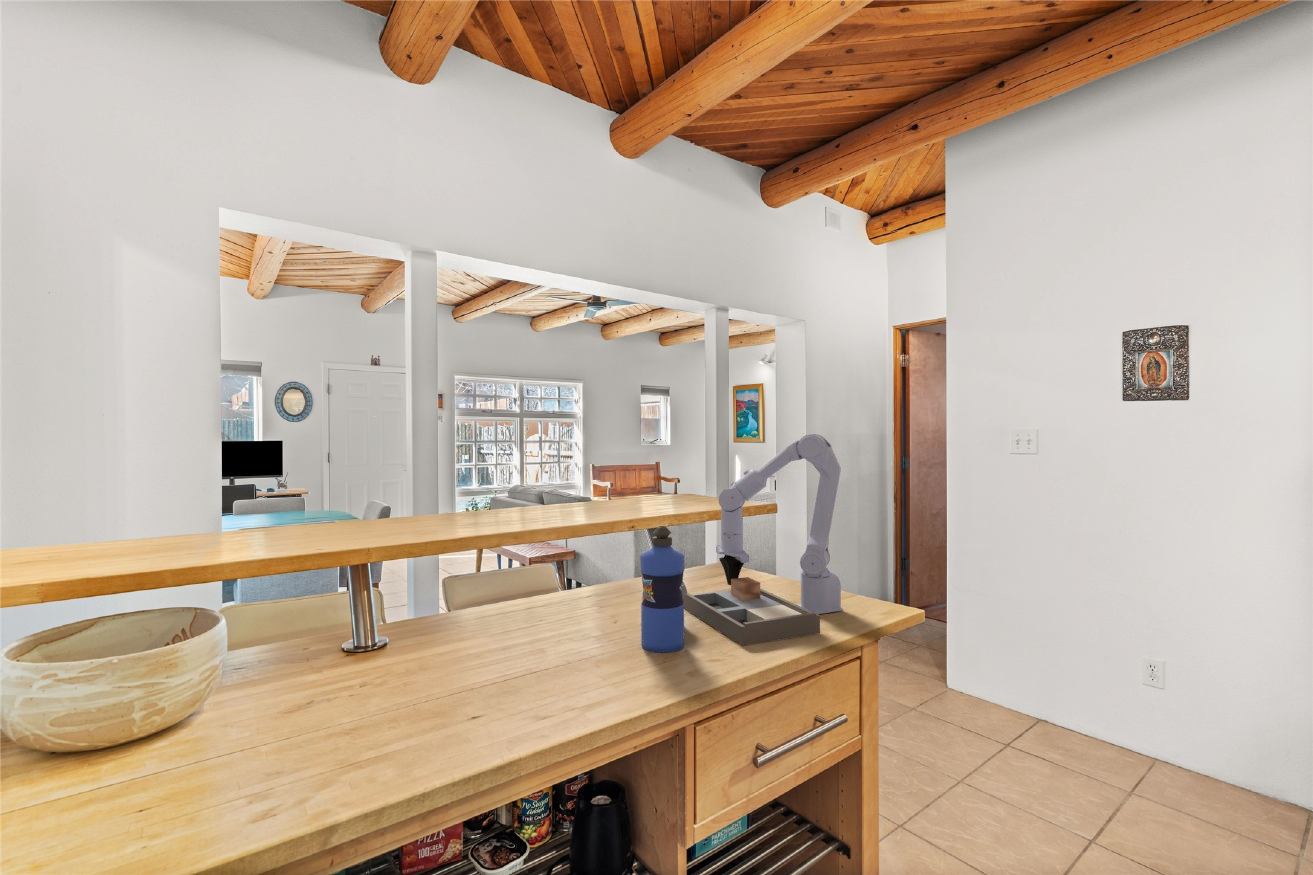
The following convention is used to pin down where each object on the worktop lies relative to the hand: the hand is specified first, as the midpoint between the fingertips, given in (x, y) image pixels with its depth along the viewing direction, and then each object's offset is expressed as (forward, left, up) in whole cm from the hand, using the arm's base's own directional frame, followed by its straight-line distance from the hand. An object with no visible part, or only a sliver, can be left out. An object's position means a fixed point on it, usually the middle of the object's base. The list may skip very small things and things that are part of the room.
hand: (732, 584), depth 160 cm
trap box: (+5, +15, -4) cm, 16 cm away
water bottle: (+30, +23, -5) cm, 38 cm away
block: (0, +7, -1) cm, 7 cm away
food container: (+23, +13, -5) cm, 26 cm away
